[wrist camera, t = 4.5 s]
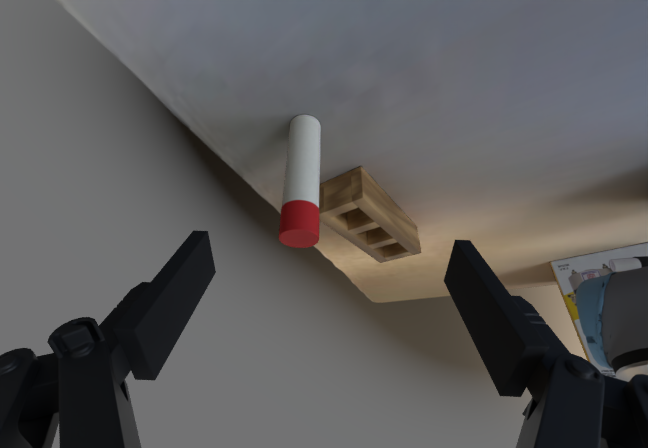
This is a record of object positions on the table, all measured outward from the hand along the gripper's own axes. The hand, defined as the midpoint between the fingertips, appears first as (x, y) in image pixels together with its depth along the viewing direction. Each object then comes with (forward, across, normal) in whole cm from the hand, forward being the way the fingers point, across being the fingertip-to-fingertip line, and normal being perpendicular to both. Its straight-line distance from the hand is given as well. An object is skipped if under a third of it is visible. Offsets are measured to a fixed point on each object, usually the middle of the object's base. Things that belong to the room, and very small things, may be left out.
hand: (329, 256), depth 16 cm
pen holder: (+29, +6, -11) cm, 32 cm away
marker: (+21, -3, +3) cm, 21 cm away
